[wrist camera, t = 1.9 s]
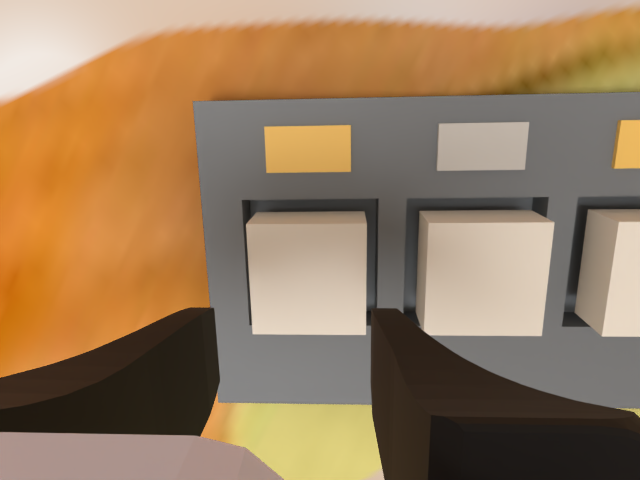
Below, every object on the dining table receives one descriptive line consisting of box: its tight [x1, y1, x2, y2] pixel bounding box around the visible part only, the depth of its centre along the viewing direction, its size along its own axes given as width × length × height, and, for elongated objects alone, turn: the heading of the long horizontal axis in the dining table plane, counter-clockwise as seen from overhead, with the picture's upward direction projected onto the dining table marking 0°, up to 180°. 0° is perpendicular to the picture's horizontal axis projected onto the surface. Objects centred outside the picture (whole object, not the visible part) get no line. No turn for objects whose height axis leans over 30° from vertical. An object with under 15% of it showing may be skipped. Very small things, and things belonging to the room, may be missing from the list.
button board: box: [193, 92, 640, 408], centre depth 18 cm, size 20×12×2 cm, turn 91°
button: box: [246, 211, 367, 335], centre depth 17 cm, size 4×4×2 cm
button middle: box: [416, 210, 555, 336], centre depth 17 cm, size 4×4×2 cm
